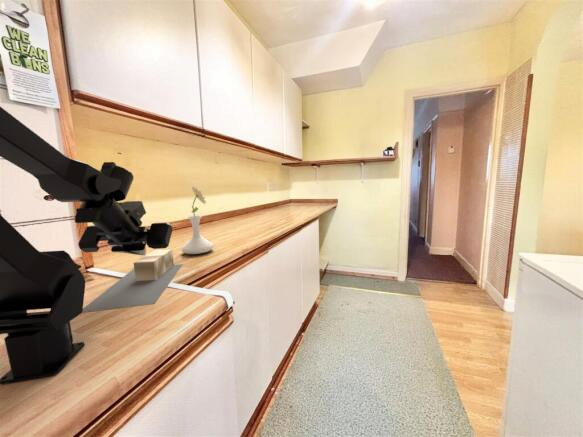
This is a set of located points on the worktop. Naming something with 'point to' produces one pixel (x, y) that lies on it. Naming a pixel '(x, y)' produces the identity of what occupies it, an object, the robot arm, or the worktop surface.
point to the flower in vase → (196, 231)
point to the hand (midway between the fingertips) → (144, 253)
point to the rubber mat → (132, 291)
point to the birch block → (153, 265)
